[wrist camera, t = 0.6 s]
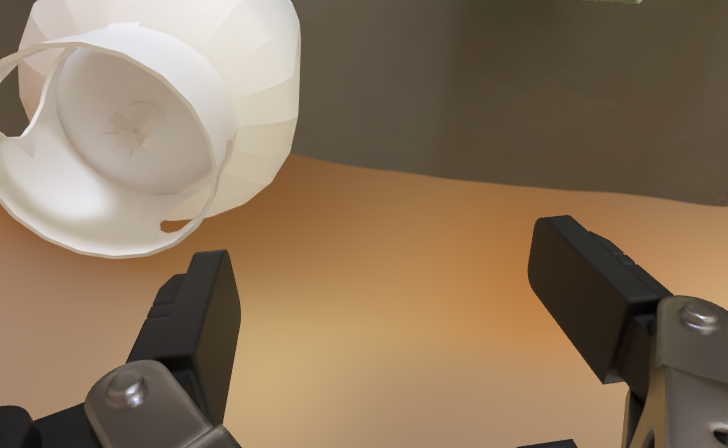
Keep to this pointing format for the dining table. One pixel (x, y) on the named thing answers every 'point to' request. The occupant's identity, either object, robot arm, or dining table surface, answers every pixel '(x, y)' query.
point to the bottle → (147, 117)
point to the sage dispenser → (618, 1)
